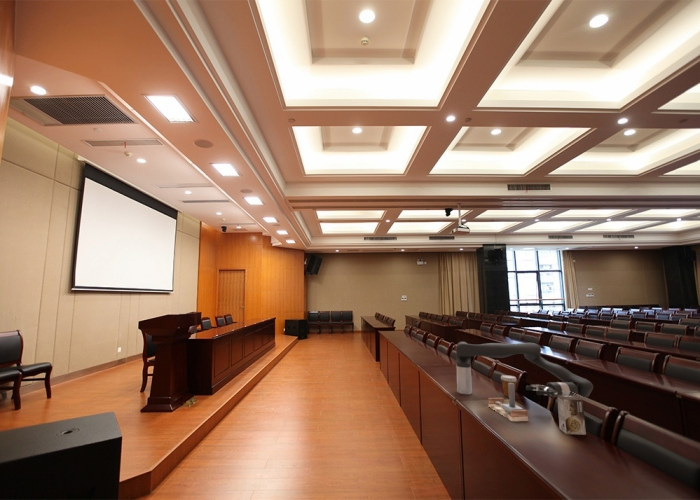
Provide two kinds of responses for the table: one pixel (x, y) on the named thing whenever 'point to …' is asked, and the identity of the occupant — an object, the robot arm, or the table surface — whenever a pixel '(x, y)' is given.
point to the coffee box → (571, 414)
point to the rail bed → (513, 415)
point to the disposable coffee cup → (505, 381)
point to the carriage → (511, 399)
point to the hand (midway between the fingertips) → (531, 390)
